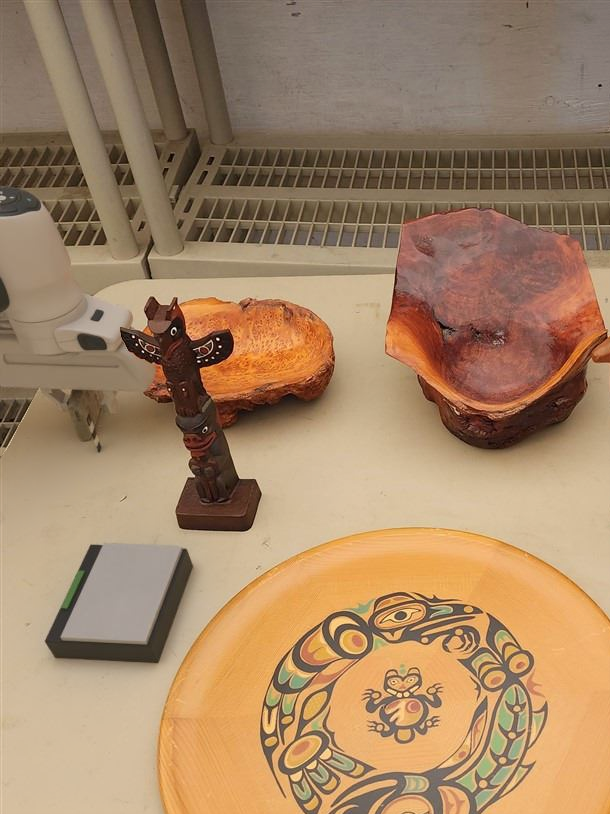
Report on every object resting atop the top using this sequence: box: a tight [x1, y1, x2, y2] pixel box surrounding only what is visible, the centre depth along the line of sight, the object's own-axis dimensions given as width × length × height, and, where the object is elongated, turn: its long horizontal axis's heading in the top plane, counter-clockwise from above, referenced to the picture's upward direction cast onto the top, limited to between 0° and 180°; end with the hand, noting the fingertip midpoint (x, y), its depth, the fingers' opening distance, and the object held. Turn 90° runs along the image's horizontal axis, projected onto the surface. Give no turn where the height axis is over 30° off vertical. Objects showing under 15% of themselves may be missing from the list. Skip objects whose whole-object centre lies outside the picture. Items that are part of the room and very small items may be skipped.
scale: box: [44, 542, 194, 664], centre depth 92 cm, size 11×13×4 cm
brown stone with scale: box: [68, 390, 104, 453], centre depth 113 cm, size 6×4×12 cm
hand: (89, 410), depth 113 cm, fingers open, 4 cm apart
